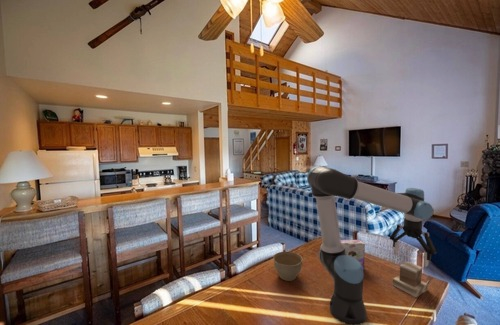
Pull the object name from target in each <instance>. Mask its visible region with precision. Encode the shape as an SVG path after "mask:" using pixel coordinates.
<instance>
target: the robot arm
mask: <svg viewBox="0 0 500 325" xmlns="http://www.w3.org/2000/svg"><path fill="white" fill-rule="evenodd" d="M306 178H307V179H306V180H307V183H308V185H309V186H310V188H311V195H312V197H313V198H315V201H316V206H317V207H316V208H317V213H318V220H319V227H320V233H321V240H322V243H321V245H320V247H319V248H320V250H319V253H318V257H319V261H320V262H321V264H322V266H323V267H324V269H325V270H326V271H327V272H328V273H329V275H330V276H331V278H332V279H333V283H334V284H333V294H332V296H331V299H330V300H329V311H330V313H331V315H332V316H333V317H334V318H335V319H336V320H338V321H339V322H341V323H343V324H347V325H362V324H364V323H366V321H367V314H368V313H367V309H366V306H365V302H364V299H363V296H364V295H363V293H364V292H363V290H364V270H363V267H362V265H361V263H360V262H359V261H358V260H356V259H355V258H352V257H350V256H346V251H345V246H344V244H343V243H341V240H342V239H341V234H340V227H339V226H340V225H339V220H338V213H337V206H336V198H335V197H339V198H343V199H346V200H352V199H355V200H357V201H361V202H365V203H368V204H369V203H370V204H372V205H375V206H380V207H383V208H385V209H389V210H392V211H397V212H399V213H402V214H404V215H403V217H404V218H403V225H402V224H401V223H399V224H396V227H395V229H394V231H393V232H392V233H391V235H390V237H389V240H390V241H392V248H394V250H393V252H394V254H393V255H395V256H396V255H398V254H399V250H400V249H399V248H400V241H399V240H401V239H402V238H403V237H405V236H407V237H409V238H411V239H416V240H417V241H418V242H419V244H420V246H421V247H422V248H423V250H424V251H425V252H424V257H423V260H424V262H423V266H424V267H428V266H429V261H431V260H432V255H436V254H437V252H438V251H437V250H436V248H435V245H434V243H433V241H432V239H431V234H430V232H429V231H427V232H426V231H423V220H428V219H431V217H432V215H433V212H434V208H433V206H432V205H431V203H429V202H427V201H425V191H424V190H423V189H421V188H414V187H408V188H406V189H405V192H394V191H391V190H387V189H385V188H381V187H378V186H375V185H372V184H368V183H365V182H362V181H359V180H358V179H357V178H356V177H353V176H350V175H347V174H345V173H343V172H341V171H339V170H337V169H334V168H331V167H327V166H325V165H317V166H314V167H313V168H311V169H310V170H309V171H308V173H307V177H306ZM401 230H403V232H402V233H401V234H399V233H400V231H401ZM398 234H399V235H398ZM397 235H398V236H397ZM423 237H424V238H423Z"/></svg>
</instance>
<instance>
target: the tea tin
mask: <svg viewBox="0 0 500 325" xmlns="http://www.w3.org/2000/svg"><path fill="white" fill-rule="evenodd" d="M422 274H423V267H422V266H420V265H418V264H414V263H413V262H409V261H404V262H403V263H401V264H400V265H399V275H400V281H402V282H405V283H407V284H409V285H411V286H413V287H416V286H417V285H419V284H420V283H421V281H422V276H423V275H422Z"/></svg>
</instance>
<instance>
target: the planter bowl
mask: <svg viewBox="0 0 500 325" xmlns="http://www.w3.org/2000/svg"><path fill="white" fill-rule="evenodd" d="M273 263H274V264H273V265H274V269H275V270H276V273H277V274H278V276H279V278H280V279H281V280H284V281H286V282H291V281H294V280H296V278H297V277H298V275H299V273H300V272H301V270H302V268H303V266H302V265H303V257H302V255H300V254H298V253H296V252H293V251H280V252H276V253H275V254H274V255H273Z"/></svg>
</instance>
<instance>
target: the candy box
mask: <svg viewBox="0 0 500 325" xmlns="http://www.w3.org/2000/svg"><path fill="white" fill-rule="evenodd" d="M340 240H341V243H343V244H344V246H345V251H346V256H350V257H352V258H355V259H356V260H358V261H359V262H360V263H361V265H362V267H363V271H365V245H366V244H365V243H364V242H363V241H362V240H361V239H340Z"/></svg>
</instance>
